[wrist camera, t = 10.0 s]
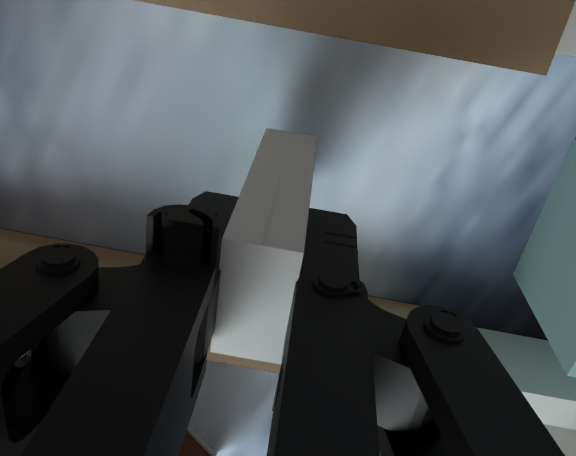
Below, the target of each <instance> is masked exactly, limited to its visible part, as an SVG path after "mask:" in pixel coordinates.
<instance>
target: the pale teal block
mask: <svg viewBox="0 0 576 456" xmlns="http://www.w3.org/2000/svg"><path fill="white" fill-rule="evenodd" d="M513 275H514V277H515V279H516V281H517V283H518V285H519V287H520V289H521V291H522V292H523V294H524V296H525V298H526V300H527V302H528V304H529V306H530V307H531V309H532V311H533V313H534V315H535V317H536V319H537V321H538V322H539V324H540V326H541V328H542V330H543V332H544V334H545V336H546V338H547V339H548V341H549V343H550V345H551V347H552V349H553V351H554V353H555V354H556V356H557V358H558V360H559V362H560V364H561V366H562V368H563V370H564V371H565V373H566V375H567V376H570V377H576V139H574V140H573V142H572V145H571V147H570V149H569V151H568V154H567V156H566V158H565V160H564V162H563V165H562V167H561V169H560V171H559V173H558V176H557V178H556V180H555V182H554V185H553V187H552V189H551V191H550V193H549V196H548V198H547V200H546V202H545V205H544V207H543V209H542V211H541V213H540V216H539V218H538V220H537V222H536V224H535V227H534V229H533V231H532V233H531V236H530V238H529V240H528V242H527V244H526V247H525V249H524V251H523V253H522V256H521V258H520V260H519V262H518V264H517V267H516V269H515V271H514V273H513Z"/></svg>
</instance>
